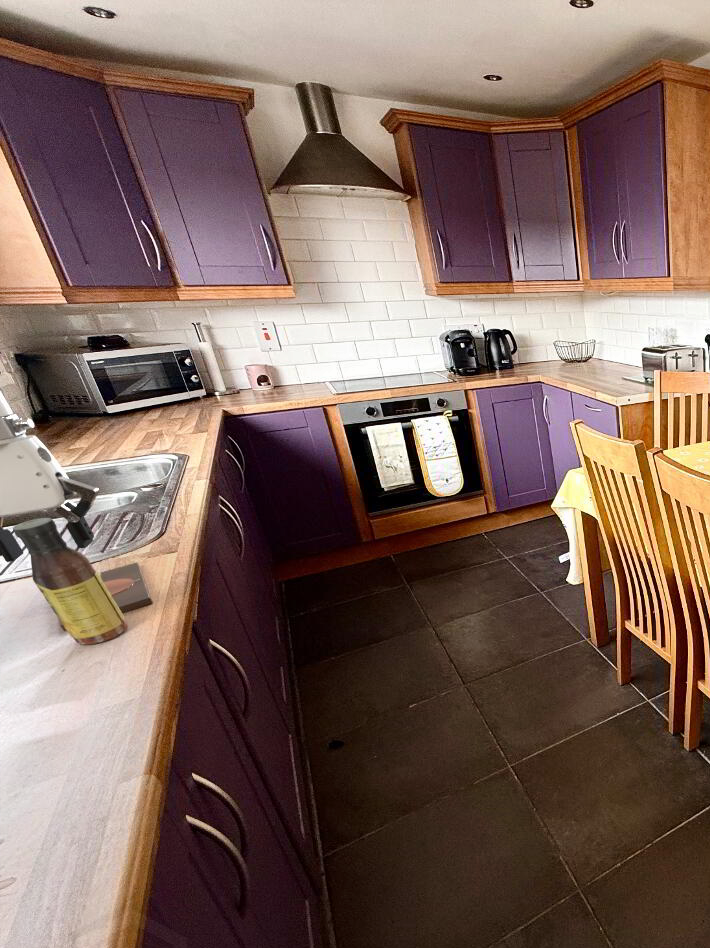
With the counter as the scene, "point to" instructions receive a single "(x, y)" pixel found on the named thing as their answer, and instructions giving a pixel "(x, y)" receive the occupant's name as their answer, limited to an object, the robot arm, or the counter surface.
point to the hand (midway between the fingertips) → (51, 550)
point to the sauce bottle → (70, 584)
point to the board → (125, 587)
